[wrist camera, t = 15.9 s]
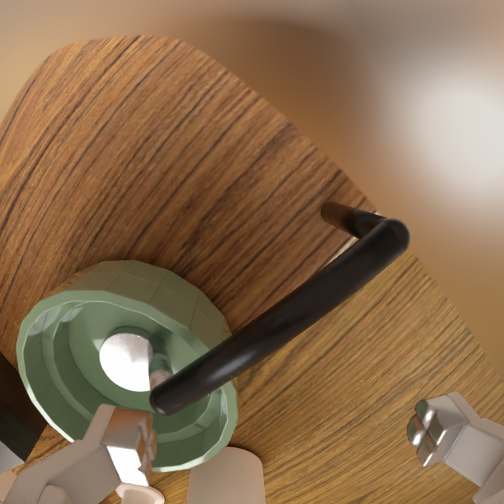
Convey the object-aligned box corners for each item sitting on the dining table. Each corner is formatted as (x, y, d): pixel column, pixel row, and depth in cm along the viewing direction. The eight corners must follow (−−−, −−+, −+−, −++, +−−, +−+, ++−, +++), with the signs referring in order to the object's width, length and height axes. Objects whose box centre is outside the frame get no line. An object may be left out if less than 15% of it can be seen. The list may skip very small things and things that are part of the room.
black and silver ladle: (137, 393, 26) (108, 482, 16) (90, 348, 25) (39, 428, 14) (357, 235, 24) (438, 278, 14) (315, 172, 23) (383, 173, 12)
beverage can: (241, 434, 29) (244, 530, 18) (273, 469, 32) (283, 552, 20) (177, 452, 30) (164, 539, 19) (214, 485, 32) (211, 562, 21)
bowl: (27, 326, 25) (-11, 362, 19) (140, 211, 23) (104, 231, 16) (146, 440, 30) (133, 487, 23) (277, 368, 27) (287, 423, 21)
